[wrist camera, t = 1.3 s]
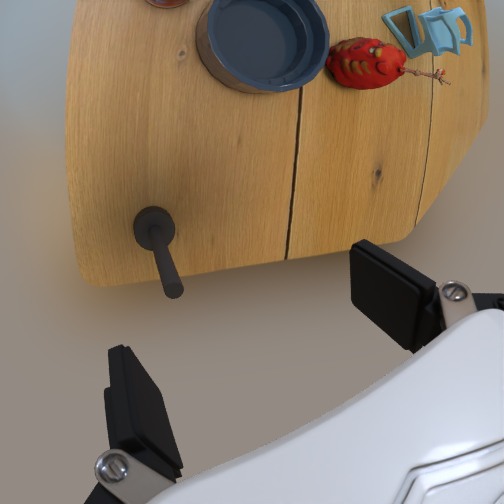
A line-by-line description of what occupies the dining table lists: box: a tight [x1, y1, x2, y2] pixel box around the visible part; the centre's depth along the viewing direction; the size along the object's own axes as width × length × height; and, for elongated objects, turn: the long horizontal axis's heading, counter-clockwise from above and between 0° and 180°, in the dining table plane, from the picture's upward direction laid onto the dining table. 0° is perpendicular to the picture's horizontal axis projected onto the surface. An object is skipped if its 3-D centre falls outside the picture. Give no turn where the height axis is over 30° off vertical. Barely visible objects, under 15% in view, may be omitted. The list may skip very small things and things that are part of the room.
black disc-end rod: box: [133, 206, 184, 299], centre depth 27 cm, size 4×4×14 cm
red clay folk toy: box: [325, 37, 451, 90], centre depth 27 cm, size 8×7×15 cm
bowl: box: [196, 0, 330, 94], centre depth 26 cm, size 13×13×5 cm
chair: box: [382, 6, 473, 58], centre depth 29 cm, size 8×8×12 cm
